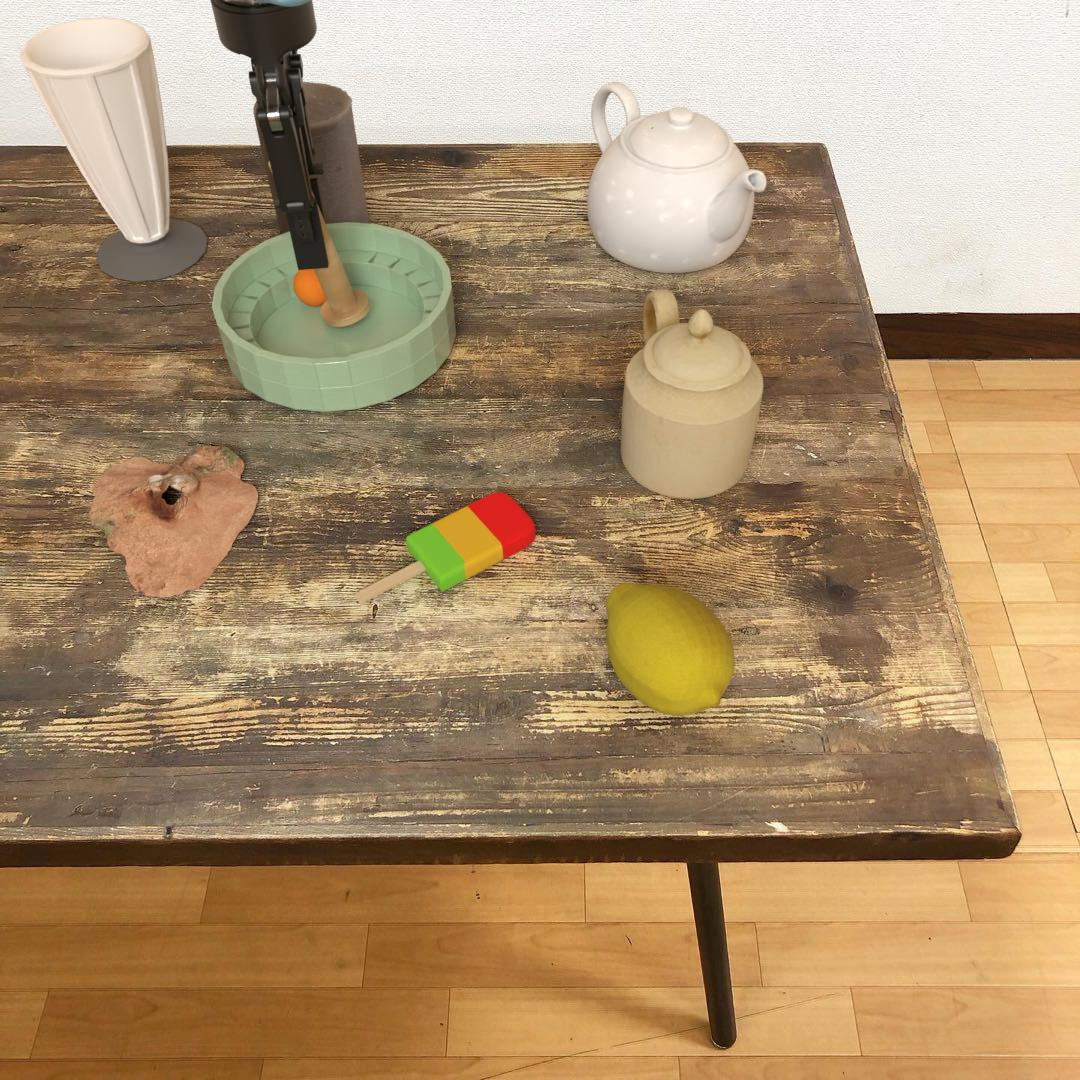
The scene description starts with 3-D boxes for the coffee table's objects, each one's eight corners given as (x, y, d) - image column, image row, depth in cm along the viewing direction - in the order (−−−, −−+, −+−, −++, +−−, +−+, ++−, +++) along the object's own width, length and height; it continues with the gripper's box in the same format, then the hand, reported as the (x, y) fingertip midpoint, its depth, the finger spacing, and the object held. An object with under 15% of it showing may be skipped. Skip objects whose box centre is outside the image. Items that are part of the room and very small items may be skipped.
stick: (314, 326, 102) (245, 174, 91) (337, 295, 105) (273, 144, 93) (356, 328, 100) (292, 174, 89) (379, 297, 103) (319, 143, 91)
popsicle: (542, 541, 85) (542, 526, 83) (376, 630, 79) (372, 615, 78) (503, 500, 88) (502, 484, 86) (341, 583, 82) (337, 567, 81)
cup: (94, 231, 115) (17, 26, 99) (202, 212, 117) (144, 8, 101) (99, 291, 108) (17, 81, 92) (214, 269, 110) (154, 60, 94)
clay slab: (237, 592, 82) (228, 566, 80) (64, 598, 82) (49, 573, 79) (263, 457, 91) (255, 431, 89) (107, 463, 91) (95, 437, 89)
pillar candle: (283, 258, 111) (252, 120, 100) (276, 209, 118) (246, 74, 106) (376, 244, 113) (355, 107, 101) (364, 197, 119) (344, 62, 108)
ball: (309, 318, 103) (278, 291, 103) (330, 311, 106) (300, 285, 106) (329, 285, 101) (297, 258, 101) (349, 279, 104) (318, 253, 105)
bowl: (218, 426, 94) (201, 373, 90) (236, 283, 109) (222, 231, 104) (463, 405, 96) (458, 352, 91) (449, 266, 110) (444, 214, 105)
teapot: (758, 193, 118) (776, 71, 108) (750, 290, 106) (770, 163, 96) (591, 179, 121) (593, 59, 111) (564, 274, 109) (565, 148, 99)
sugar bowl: (562, 428, 93) (562, 283, 82) (651, 373, 98) (663, 229, 87) (687, 522, 86) (706, 376, 75) (777, 457, 91) (807, 311, 79)
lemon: (753, 718, 74) (770, 650, 68) (654, 762, 72) (662, 696, 66) (673, 607, 80) (682, 536, 74) (580, 644, 78) (582, 574, 72)
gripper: (305, 26, 76) (354, 303, 93) (312, -56, 86) (355, 207, 104) (197, 33, 75) (267, 310, 93) (217, -50, 86) (277, 213, 103)
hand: (313, 255), depth 98 cm, fingers closed on stick, 3 cm apart
